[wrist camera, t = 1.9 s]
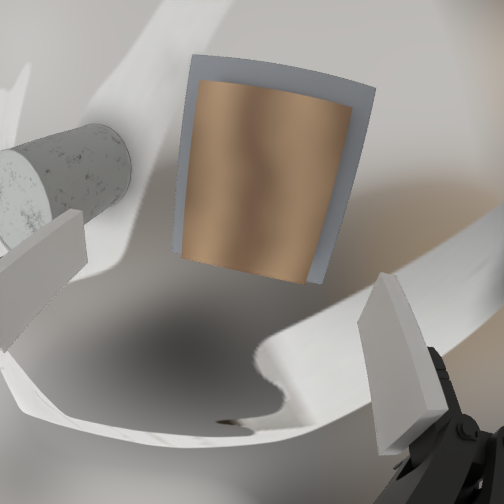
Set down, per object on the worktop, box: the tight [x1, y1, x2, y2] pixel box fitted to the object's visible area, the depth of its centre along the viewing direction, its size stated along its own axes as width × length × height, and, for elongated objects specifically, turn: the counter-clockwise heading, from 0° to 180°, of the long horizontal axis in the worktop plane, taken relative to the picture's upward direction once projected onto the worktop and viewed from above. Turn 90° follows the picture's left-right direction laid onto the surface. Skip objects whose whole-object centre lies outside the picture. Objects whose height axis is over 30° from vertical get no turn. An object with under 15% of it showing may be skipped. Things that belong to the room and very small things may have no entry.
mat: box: [172, 55, 376, 284], centre depth 27 cm, size 16×20×1 cm
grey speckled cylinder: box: [0, 124, 131, 251], centre depth 23 cm, size 10×10×12 cm
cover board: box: [181, 80, 353, 285], centre depth 24 cm, size 11×15×4 cm
